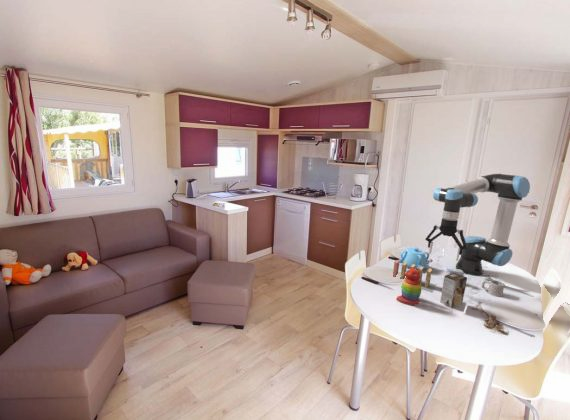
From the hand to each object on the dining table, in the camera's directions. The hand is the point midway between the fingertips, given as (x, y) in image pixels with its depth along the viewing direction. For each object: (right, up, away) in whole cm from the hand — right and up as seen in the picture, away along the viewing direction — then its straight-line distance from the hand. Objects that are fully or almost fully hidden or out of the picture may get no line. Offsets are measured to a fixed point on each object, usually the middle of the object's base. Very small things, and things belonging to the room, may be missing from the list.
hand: (443, 256), depth 163 cm
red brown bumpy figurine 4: (-16, -16, +15) cm, 27 cm away
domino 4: (-9, -17, +10) cm, 22 cm away
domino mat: (-13, -17, +13) cm, 25 cm away
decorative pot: (-1, -13, +36) cm, 38 cm away
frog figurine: (+9, -28, -26) cm, 40 cm away
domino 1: (-20, -15, +18) cm, 30 cm away
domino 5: (-5, -18, +8) cm, 20 cm away
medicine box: (+14, -19, +15) cm, 27 cm away
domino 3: (-13, -17, +13) cm, 24 cm away
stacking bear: (-22, -22, -7) cm, 32 cm away
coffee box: (-1, -24, -10) cm, 25 cm away
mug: (+31, -21, +6) cm, 38 cm away
